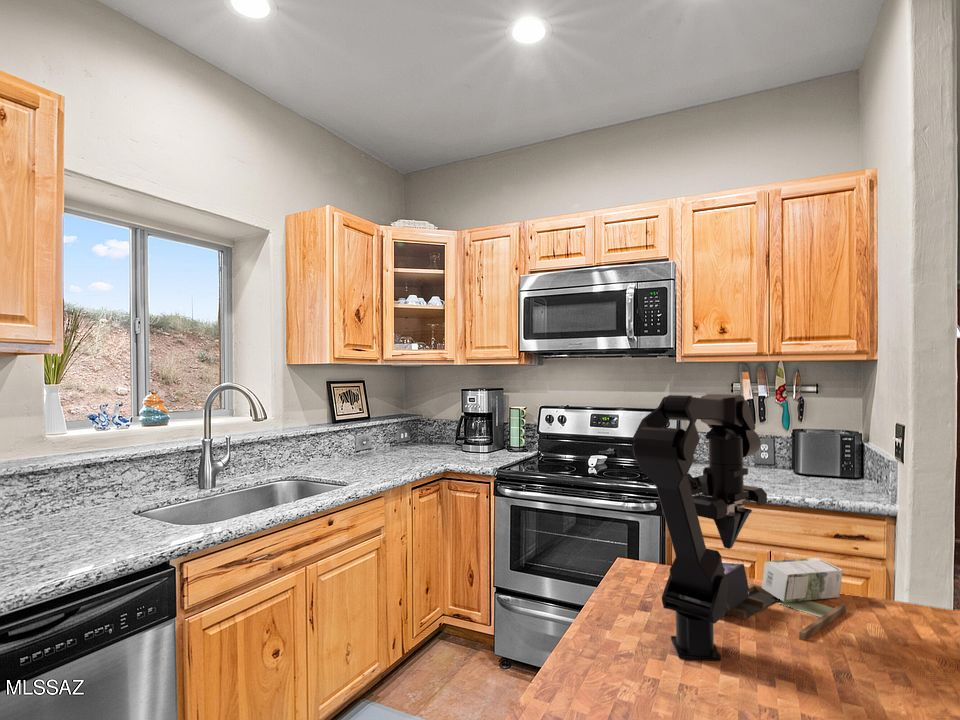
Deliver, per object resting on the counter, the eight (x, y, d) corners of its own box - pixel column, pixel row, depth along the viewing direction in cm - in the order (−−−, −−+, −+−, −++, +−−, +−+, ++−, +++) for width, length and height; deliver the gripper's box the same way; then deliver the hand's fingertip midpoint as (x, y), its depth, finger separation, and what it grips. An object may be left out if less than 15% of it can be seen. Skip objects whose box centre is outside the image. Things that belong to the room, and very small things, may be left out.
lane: (804, 640, 91) (804, 633, 92) (714, 608, 104) (714, 602, 104) (846, 611, 102) (846, 604, 102) (760, 585, 115) (759, 579, 115)
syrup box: (760, 588, 110) (814, 582, 114) (784, 603, 104) (840, 597, 109) (764, 560, 109) (818, 556, 114) (789, 575, 104) (844, 570, 108)
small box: (693, 558, 114) (745, 562, 106) (699, 591, 113) (751, 597, 105) (669, 570, 106) (723, 575, 99) (675, 605, 105) (729, 613, 98)
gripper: (712, 452, 112) (713, 529, 112) (657, 462, 101) (659, 547, 101) (767, 459, 103) (769, 541, 103) (714, 470, 92) (716, 563, 92)
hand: (727, 547), depth 100 cm, fingers closed
